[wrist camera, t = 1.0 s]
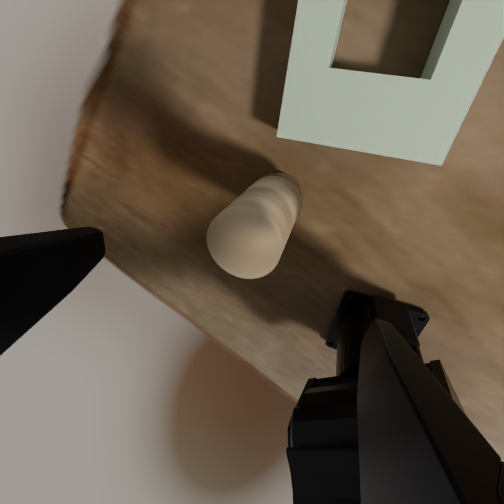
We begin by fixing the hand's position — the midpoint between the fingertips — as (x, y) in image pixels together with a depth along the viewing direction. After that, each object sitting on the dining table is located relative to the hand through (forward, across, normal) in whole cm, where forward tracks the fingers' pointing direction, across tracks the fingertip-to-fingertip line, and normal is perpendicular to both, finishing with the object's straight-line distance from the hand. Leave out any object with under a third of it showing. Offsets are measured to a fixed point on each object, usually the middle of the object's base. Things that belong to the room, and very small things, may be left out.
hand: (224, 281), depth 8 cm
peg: (+13, +1, +1) cm, 13 cm away
